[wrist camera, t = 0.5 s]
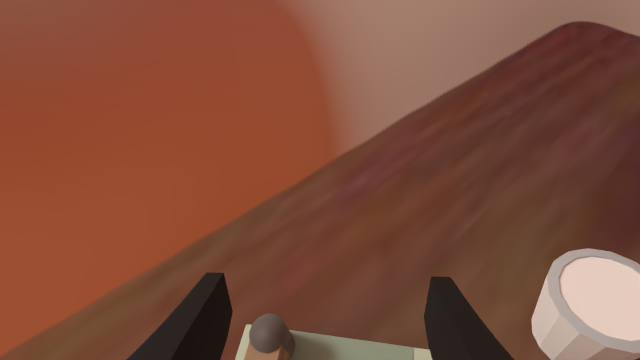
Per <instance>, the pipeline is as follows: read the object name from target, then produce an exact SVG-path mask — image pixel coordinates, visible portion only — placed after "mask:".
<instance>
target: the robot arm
mask: <svg viewBox="0 0 640 360" xmlns="http://www.w3.org/2000/svg"><path fill="white" fill-rule="evenodd" d="M231 317H232V307H231V303H230V299H229V294H228V290H227V286H226V281H225V277H224V273H206V274H205V275H204V276H203V277H202V278H201V279H200V281H199V282H198V283H197V284H196V285H195V287H194V288H193V289H192V290H191V291H190V293H189V294H188V295H187V296H186V297H185V298H184V300H183V301H182V302H181V303H180V304H179V305H178V307H177V308H176V309H175V310H174V311H173V312H172V313H171V314H170V315H169V317H168V318H167V319H166V320H165V321H164V322H163V323H162V324H161V325H160V326H159V328H158V329H157V330H156V331H155V332H154V333H153V334H152V335H151V336H150V337H149V338H148V339H147V340H146V341H145V342H144V343H143V344H142V345H141V346H140V347H139V348H138V349H137V350H136V351H135V352H134V353H133V354H132V355H131V356H130V357H129V358H128V359H126V360H220V358H221V355H222V352H223V349H224V346H225V343H226V340H227V336H228V331H229V327H230V322H231ZM424 320H425V327H426V333H427V339H428V345H429V349H430V353H431V357H432V360H514V359H513V358H512V357H511V355H510V354H509V353H508V352H507V351H506V350H505V349H504V347H503V346H502V345H501V344H500V343H499V341H498V340H497V339H496V338H495V337H494V335H493V334H492V333H491V332H490V330H489V329H488V328H487V327H486V325H485V324H484V323H483V322H482V320H481V319H480V318H479V316H478V315H477V314H476V312H475V311H474V310H473V308H472V307H471V306H470V304H469V303H468V302H467V300H466V299H465V297H464V296H463V295H462V293H461V292H460V290H459V289H458V287H457V286H456V284H455V283H454V281H453V280H452V279H451V278H450V277H431V281H430V286H429V292H428V297H427V303H426V308H425V314H424Z"/></svg>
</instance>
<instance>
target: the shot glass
mask: <svg viewBox="0 0 640 360" xmlns="http://www.w3.org/2000/svg"><path fill="white" fill-rule="evenodd" d="M532 333H533V335H534V337H535V339H536V341H537V343H538V345H539V347H540V348H541V349H542V351H543V352H544V353H545V354H546V355H547V356H548V357H549V358H550V359H551V360H635V359H637V358H640V265H639V264H638V263H636V262H635V261H632V260H630V259H627V258H625V257H623V256H620V255H618V254H615V253H613V252H609V251H602V250H595V249H581V250H575V251H569V252H567V253H565V254H564V255H562V256H561V257H559V258H558V259H556V260H555V261H554V262H553V264H552V266H551V268H550V270H549V272H548V274H547V277H546V280H545V283H544V285H543V288H542V291H541V294H540V297H539V300H538V302H537V305H536V308H535V311H534V314H533V316H532Z"/></svg>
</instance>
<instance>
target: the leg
mask: <svg viewBox="0 0 640 360" xmlns="http://www.w3.org/2000/svg"><path fill="white" fill-rule="evenodd" d="M249 340H250V341H249V345H248V348H247V351H246V354H245V358H244V360H290V358H291V356H292V354H293V352H294V348H295V341H294V338H293V336H292V334H291V333H290V331H289V329H288V328H287V326H286V325H285V323H284V322H283V320H282V319H281V318H280V317H279V316H277V315H275V314H265V315H262V316H260V317H259V318H258V319H256V320H255V322H254V323H253V324H252V326H251V329H250V332H249Z"/></svg>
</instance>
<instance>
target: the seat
mask: <svg viewBox="0 0 640 360" xmlns="http://www.w3.org/2000/svg"><path fill="white" fill-rule="evenodd" d="M251 326H252V325H247V324H246V327H245V330H244V333H243V337H242V340H241V343H240V346H239V349H238V352H237V355H236V358H235V360H244V358H245V354H246V351H247V348H248V345H249V341H250V340H249V332H250V329H251ZM289 331H290V333H291V334H292V336H293V338H294V341H295V348H294V352H293V354H292V356H291V358H290V360H432V357H431V353H430V350H426V349H419V348H413V347H407V346H400V345H392V344H385V343H378V342H371V341H364V340H357V339H349V338H342V337H335V336H328V335H321V334H313V333H306V332H299V331H292V330H289Z"/></svg>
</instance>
